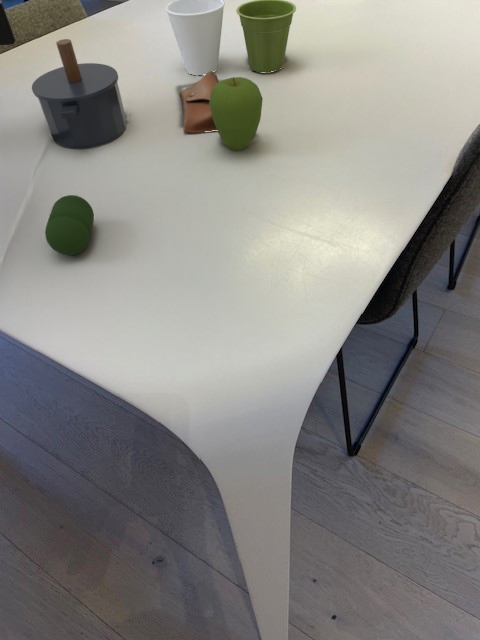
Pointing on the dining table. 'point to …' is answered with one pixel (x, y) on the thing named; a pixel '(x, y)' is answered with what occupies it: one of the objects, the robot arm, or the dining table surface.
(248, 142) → the apple
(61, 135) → the pot
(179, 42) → the cup
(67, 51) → the lid
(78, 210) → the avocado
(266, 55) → the plant pot
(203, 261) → the dining table surface
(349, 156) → the dining table surface
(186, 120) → the sunglasses case
